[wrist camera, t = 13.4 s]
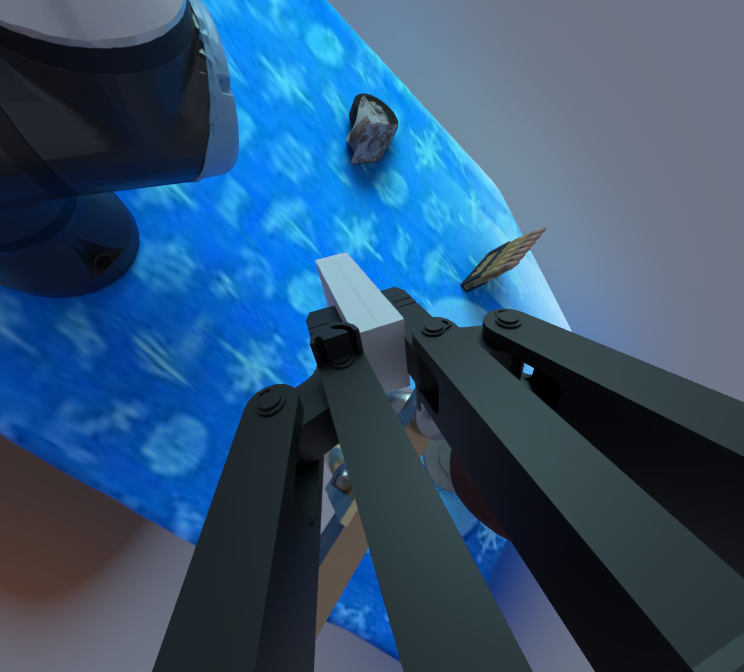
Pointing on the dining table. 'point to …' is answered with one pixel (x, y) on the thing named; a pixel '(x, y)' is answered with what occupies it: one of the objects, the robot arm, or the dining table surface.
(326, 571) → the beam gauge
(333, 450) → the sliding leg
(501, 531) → the mate gourd
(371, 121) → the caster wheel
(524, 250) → the ammunition clip
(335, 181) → the dining table surface
